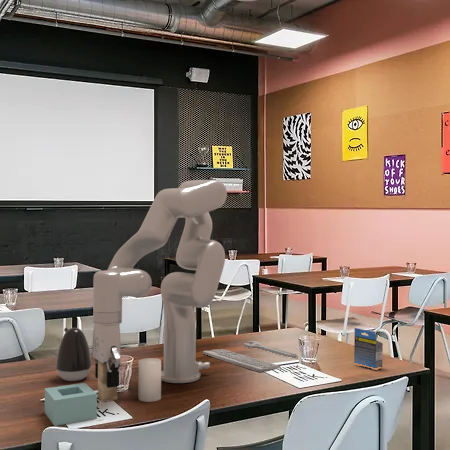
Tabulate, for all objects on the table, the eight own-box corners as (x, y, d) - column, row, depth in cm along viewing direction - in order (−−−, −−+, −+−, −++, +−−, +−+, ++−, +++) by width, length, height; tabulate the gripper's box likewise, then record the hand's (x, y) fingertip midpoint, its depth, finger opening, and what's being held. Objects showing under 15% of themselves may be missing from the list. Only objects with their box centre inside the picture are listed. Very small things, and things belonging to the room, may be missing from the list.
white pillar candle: (155, 393, 157) (155, 357, 157) (164, 399, 152) (164, 362, 152) (135, 396, 154) (135, 359, 154) (143, 403, 149) (143, 364, 149)
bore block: (84, 406, 146) (84, 382, 146) (96, 418, 138) (96, 393, 138) (44, 412, 141) (44, 388, 141) (54, 426, 133) (54, 400, 133)
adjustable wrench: (299, 359, 197) (299, 354, 197) (285, 362, 193) (285, 357, 193) (253, 344, 217) (253, 340, 217) (240, 347, 213) (240, 342, 213)
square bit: (112, 395, 155) (112, 358, 155) (117, 399, 152) (117, 362, 151) (97, 397, 153) (97, 360, 153) (102, 401, 150) (102, 363, 149)
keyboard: (283, 369, 185) (283, 362, 185) (260, 374, 178) (260, 368, 178) (225, 351, 207) (225, 346, 207) (202, 356, 200) (202, 350, 200)
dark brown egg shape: (80, 371, 177) (80, 322, 177) (97, 379, 170) (98, 328, 169) (49, 378, 170) (49, 327, 170) (66, 386, 163) (66, 333, 162)
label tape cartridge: (383, 369, 184) (383, 330, 183) (375, 371, 181) (375, 332, 181) (361, 363, 191) (361, 326, 190) (353, 364, 188) (353, 327, 188)
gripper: (84, 313, 157) (83, 375, 158) (104, 324, 142) (103, 393, 143) (110, 311, 161) (109, 372, 162) (132, 321, 146) (132, 388, 147)
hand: (106, 381), depth 152 cm, fingers open, 9 cm apart
